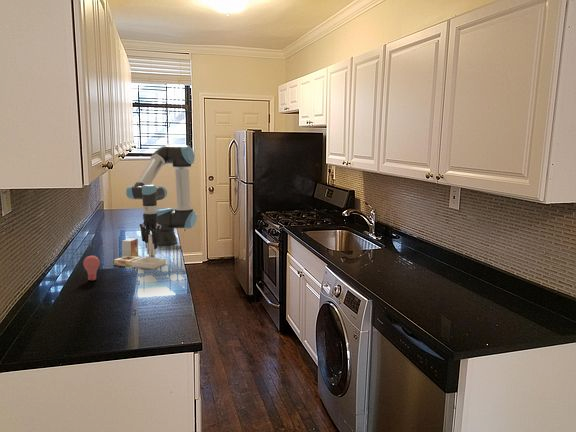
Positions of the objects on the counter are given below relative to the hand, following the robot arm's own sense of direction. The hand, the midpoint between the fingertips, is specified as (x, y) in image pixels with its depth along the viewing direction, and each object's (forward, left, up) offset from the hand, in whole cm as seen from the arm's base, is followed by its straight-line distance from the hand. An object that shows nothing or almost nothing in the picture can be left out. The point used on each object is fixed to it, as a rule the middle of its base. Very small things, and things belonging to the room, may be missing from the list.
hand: (151, 253), depth 246 cm
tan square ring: (+10, -8, -4) cm, 14 cm away
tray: (+9, +5, -4) cm, 11 cm away
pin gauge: (0, 0, -3) cm, 3 cm away
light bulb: (+41, -3, -4) cm, 42 cm away
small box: (-2, -16, -4) cm, 17 cm away
